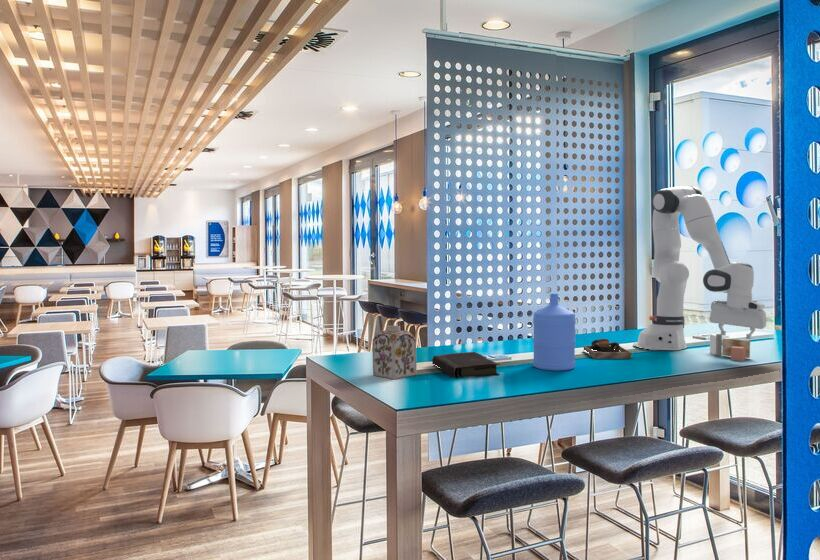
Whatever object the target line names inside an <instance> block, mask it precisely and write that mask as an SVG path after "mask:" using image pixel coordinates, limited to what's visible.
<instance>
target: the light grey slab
mask: <svg viewBox="0 0 820 560" xmlns="http://www.w3.org/2000/svg"><path fill="white" fill-rule="evenodd" d="M722 340H723V335H721V333H715V334H714V333H710V334H709V353H710V354H712V355H714V356H716V357H722V356H723V355H722Z"/></svg>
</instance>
